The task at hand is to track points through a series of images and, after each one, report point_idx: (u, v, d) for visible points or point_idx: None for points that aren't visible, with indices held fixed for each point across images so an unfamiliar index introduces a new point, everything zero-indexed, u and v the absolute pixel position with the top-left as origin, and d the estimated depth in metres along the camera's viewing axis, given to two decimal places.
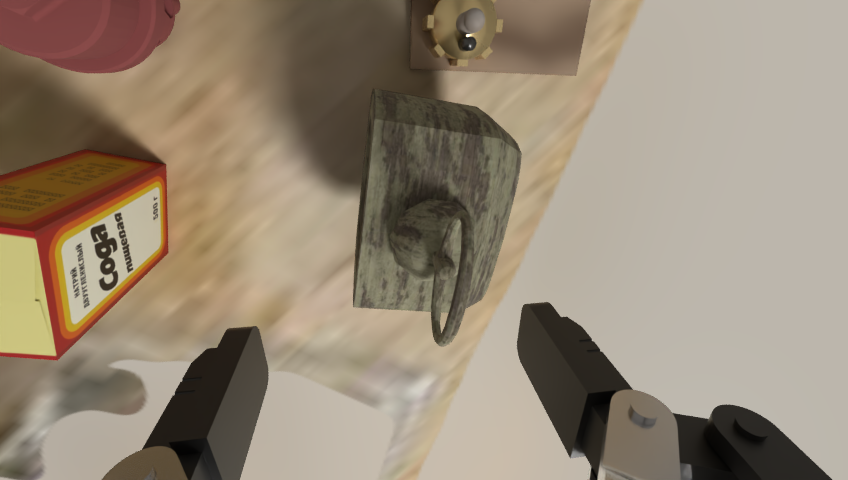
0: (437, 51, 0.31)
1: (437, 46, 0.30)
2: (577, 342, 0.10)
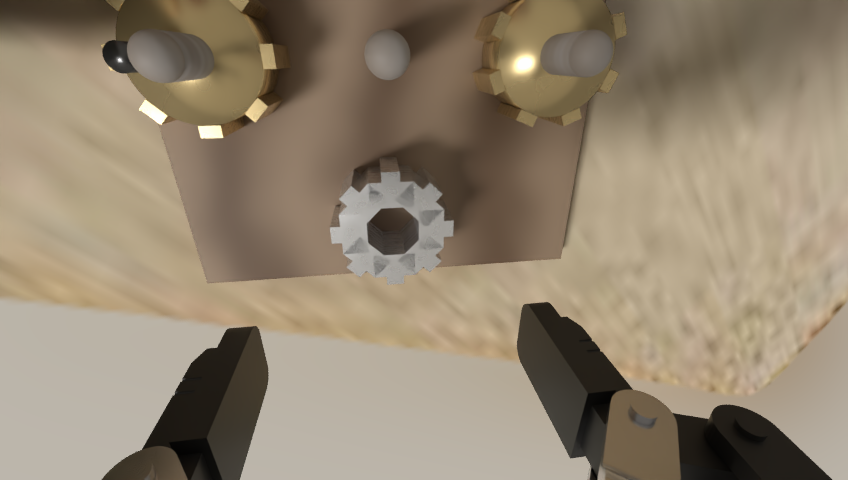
0: None
1: None
2: (577, 342, 0.10)
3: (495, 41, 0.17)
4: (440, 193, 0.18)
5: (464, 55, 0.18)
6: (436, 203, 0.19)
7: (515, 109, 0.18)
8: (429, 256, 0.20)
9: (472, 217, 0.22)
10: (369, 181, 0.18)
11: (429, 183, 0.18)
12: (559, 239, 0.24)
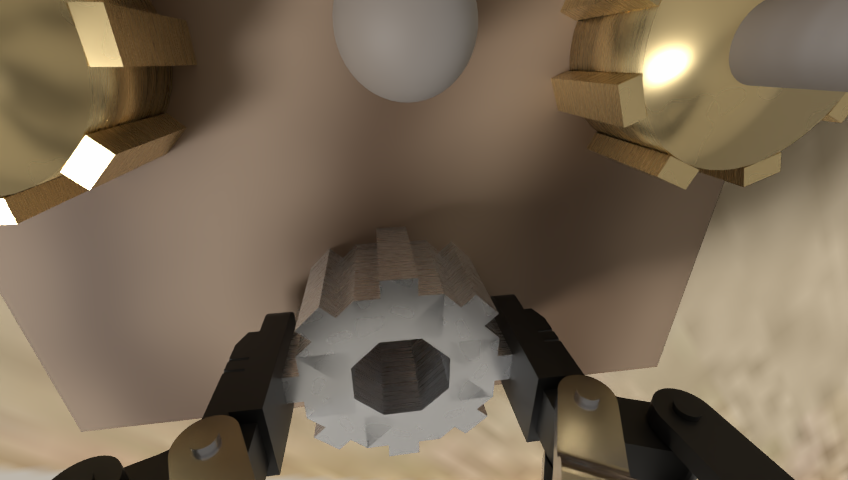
0: None
1: None
2: (535, 331, 0.10)
3: (626, 13, 0.08)
4: (494, 311, 0.09)
5: (539, 45, 0.10)
6: (485, 328, 0.10)
7: (648, 152, 0.09)
8: (466, 411, 0.11)
9: None
10: (356, 294, 0.09)
11: (475, 295, 0.09)
12: (659, 341, 0.15)
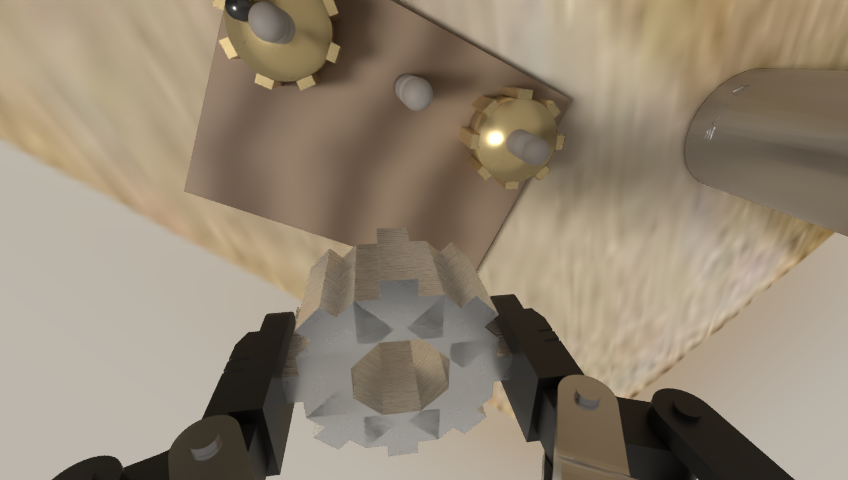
0: None
1: None
2: (535, 331, 0.10)
3: (484, 115, 0.24)
4: (494, 312, 0.09)
5: (460, 113, 0.25)
6: (485, 329, 0.10)
7: (479, 164, 0.25)
8: (465, 411, 0.11)
9: (419, 227, 0.29)
10: (356, 294, 0.09)
11: (475, 296, 0.09)
12: None
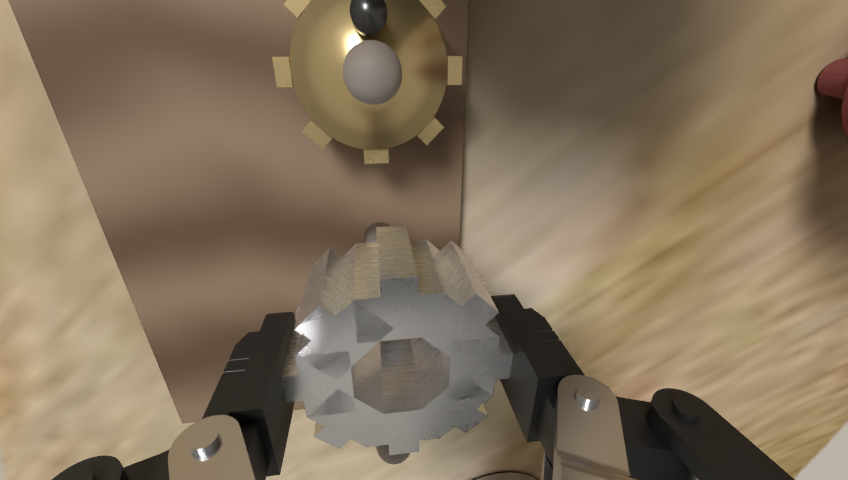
0: None
1: (436, 11, 0.12)
2: (535, 331, 0.10)
3: None
4: (494, 310, 0.09)
5: None
6: (485, 327, 0.10)
7: None
8: (466, 410, 0.11)
9: (216, 333, 0.19)
10: (356, 292, 0.09)
11: (475, 294, 0.09)
12: None
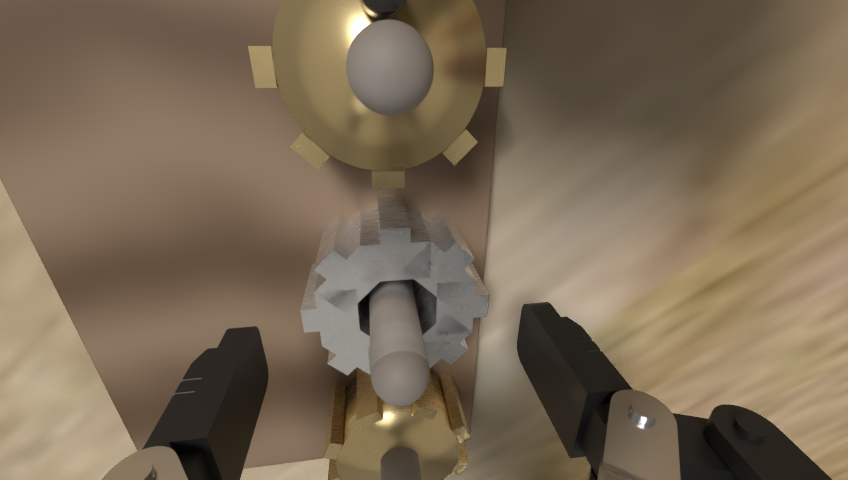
0: None
1: None
2: (577, 342, 0.10)
3: None
4: (471, 257, 0.12)
5: None
6: (464, 272, 0.12)
7: (341, 430, 0.15)
8: (451, 344, 0.13)
9: None
10: (362, 241, 0.11)
11: (455, 243, 0.12)
12: None
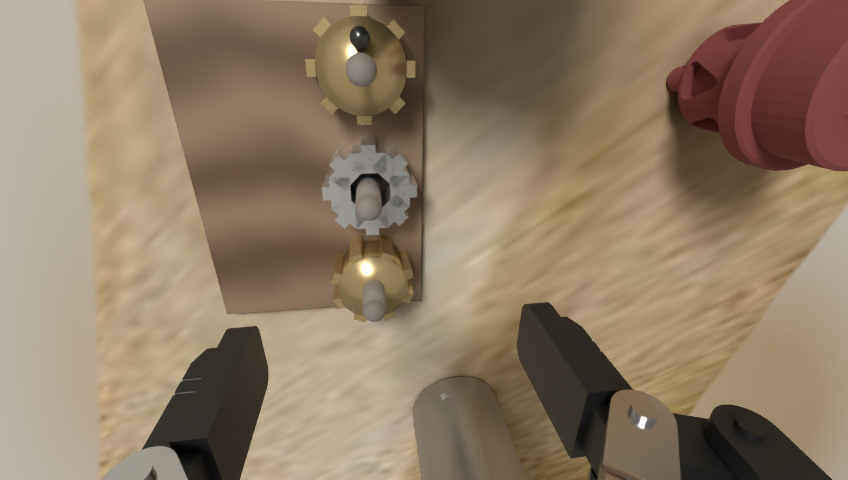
0: (399, 27, 0.21)
1: (399, 35, 0.21)
2: (577, 342, 0.10)
3: (379, 252, 0.28)
4: (406, 163, 0.24)
5: None
6: (403, 170, 0.24)
7: (341, 269, 0.28)
8: (398, 213, 0.26)
9: (255, 245, 0.28)
10: (352, 152, 0.24)
11: (398, 154, 0.24)
12: (244, 309, 0.31)
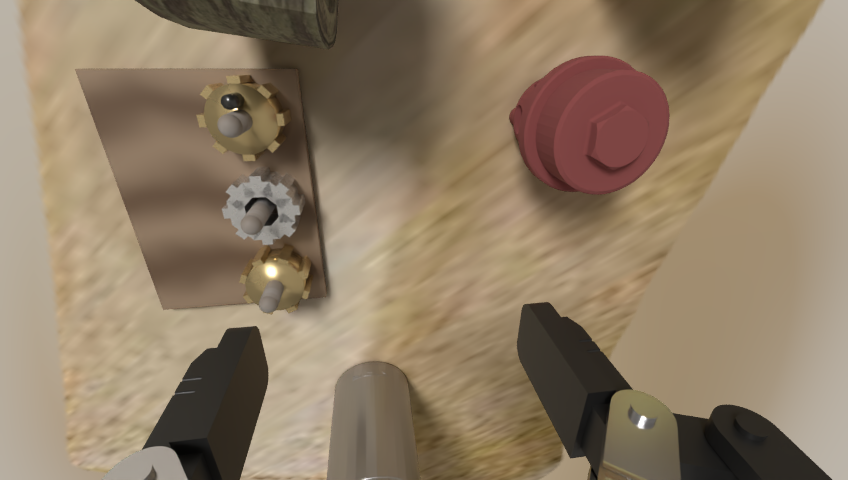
0: (266, 90, 0.28)
1: (267, 96, 0.28)
2: (577, 342, 0.10)
3: (278, 258, 0.35)
4: (287, 188, 0.31)
5: None
6: (286, 194, 0.31)
7: (248, 272, 0.34)
8: (287, 227, 0.33)
9: (181, 253, 0.35)
10: (243, 181, 0.31)
11: (279, 182, 0.31)
12: (177, 305, 0.38)
